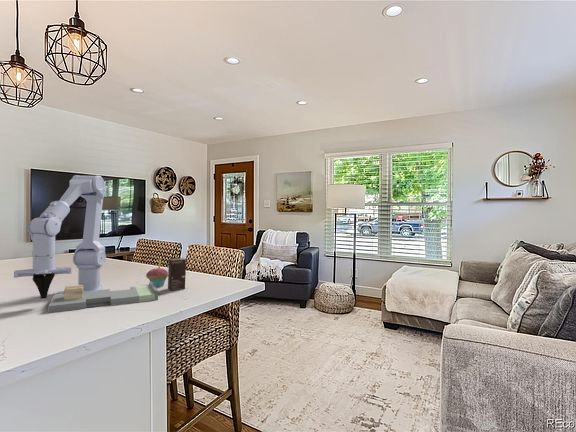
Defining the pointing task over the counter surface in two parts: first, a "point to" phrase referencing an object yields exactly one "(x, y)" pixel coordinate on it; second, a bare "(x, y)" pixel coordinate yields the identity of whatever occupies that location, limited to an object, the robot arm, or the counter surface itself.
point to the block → (73, 292)
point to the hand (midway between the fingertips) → (43, 297)
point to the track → (104, 298)
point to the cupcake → (157, 276)
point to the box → (176, 273)
